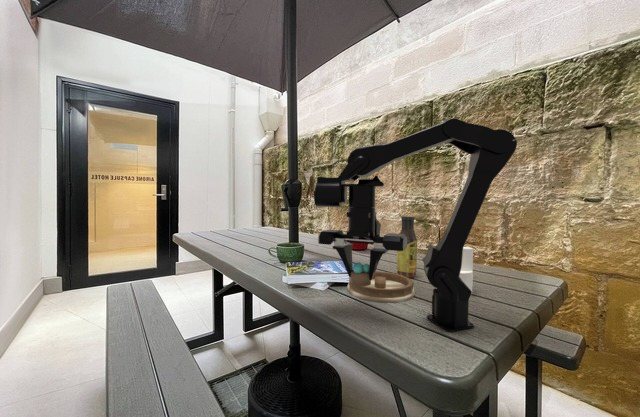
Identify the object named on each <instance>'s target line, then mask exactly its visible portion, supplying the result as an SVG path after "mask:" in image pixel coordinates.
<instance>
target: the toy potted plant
mask: <svg viewBox="0 0 640 417" xmlns="http://www.w3.org/2000/svg"><path fill="white" fill-rule="evenodd" d="M369 268H370V263H369V264H368V263H363V264H362V262H359V261H358V262H355V263H354V265H353V270H352V271H351V284H353V285H356V286H368V285H370V284H371V280H370V277H369Z"/></svg>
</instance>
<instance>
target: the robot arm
mask: <svg viewBox="0 0 640 417" xmlns="http://www.w3.org/2000/svg"><path fill="white" fill-rule="evenodd" d="M446 143H447V144H449V145H452V146H453V147H455V148H457V149H458V150H460V151H462V152H464V153H466V154H469V155H470V158H469V162H468V163H469V164H468V174H467V179H466V181H465V183H464V184H463V188H462V191H461V193H460V195H459V196H458V197H459V198H458V199H457V202H456V203H455V204H456V205H455V207H454V209H453V211H452V213H451V216H450V218H449V221H448V224H447V226H446V228H445V231H444V232H443V235H442V237H441V239H440V241H439V242H438V243H437V244H436V245H433V244H431V243H429V244H428V247H427V251H426V254H425V255H424V257H423V258H422V259H421V260H422V262H423V271H424V273H425V276H426V278H427V280H428V282H429V284H431V285H432V287H434V288H433V289H432V290H433V292H432V295H431V314H430V315H429V314H428V315H426V319H427V320H429V321H430V322H432V323H434V324H435V325H437V326H439V327H440V328H442V329H444V330H445V331H447V332H449V333H450V332H456V331H462V330H467V329H471V328H475V324H474V323H472V322H470V321H469V305H470V304H469V303H470V302H469V300H470V298H471V295H472V294H473V290H472V291H471V290H470V289H469V288H468V286H467V285H466V284H465V283H464V282H463V281H462V279H461V278H460V277H459V275H460V271H461V266H462V254H463V247H465V245H466V242H467V240H468V238H469V236H470V233H471V231H472V228H473V227H474V226H473V225H474V223H475V221H476V219H477V217H478V215H479V212H480V210H481V208H482V205H483V203H484V201H485V198H486V196H487V194H488V192H489V189H490V188H491V184H492V182H493V181H494V180H495V178H496V177H497V176H498V175H499V173H501V171H502V170H503V169H504V168H505V167H506V165H508V162H509V161H510V159H511V158H512V157H513V155H514V153H515V152H516V150H517V146H518V141H517V139H516V137H515V135H514V134H513V133H512V132H510V131H509V130H506V129H502V128H498V129H493V128H491V127H488V126H485V125H481V124H475V123H470V122H467V121H464V120H461V119H458V118H453V117H452V118H448V119H446V120H445V121H443V122H441V123H438V124H435V125H433V126H430V127H428V128H425V129H423V130H420V131H417V132H415V133H412V134H409V135H408V136H404V137H402V138H398V139H396V140H393V141H391V142H388V143H387V142H386V143H384V144H383V143H382V144H372V145H367V146H362V147H357V148H355V149H354V150H352V151H351V152H350V153H349V155H348V158H347V164H346V165H345V167H344V168H343V170H342V171H341V172H340V174H339V175H338V177H326V176H325V177H324V176H317V177H316V181H317V182H316V184H315V187H314V190H313V199H314V205H315V206H316V207H317V208H319V207H320V208H324V207H325V208H342V206H343V203H347V201H348V211H347V212H346V218H348V231H346V233H344V232H343V230H341V229H325V230H321V231H320V232H319V233H318V237H317V238H318V239H317V240H318V241H317V242H318V244H319V245H329V246H330V245H332V244H333V245H332V250H336V252H337V254H338V255H339V257H340V259H341V260H342V263H343V266H344V268H345V271H346V273H347V275H348V278H349V277H351V271H352V270H353V268H354V265H353V247H354V244H364V245H365V244H366V245H373V248H371V249H370V250H369V251H370V252H369V265H370V268H369V277H370V280H372V279H373V277H374V274H375V272H377V269H378V265H379V262H380V261H381V258H382V257H383V255H385V254H386V253H388V252H389V251H396V252H397V251H403V250H404V249H405V248H406V247H407V237H406V236H405V234H399V233H394V232H393V233H389V232H388V233H387V234H385V235H383V236H382V235H381V226H382V224H381V222H379V220H378V219H377V211H376V188H383V187H384V186H385V184H384V182H383V181H381V179H380V178H379V176H378V175H375V176H374V177H373V178H371V179H370V178H369V177H370V176H372V175H374V174H376V173H378V172H379V171H381V170H382V169H384V168H386V167H387V166H389V165H391V164H392V163H394V162H396V161H399V160H401V159H405V158H407V157H411V156H413V155H416V154H418V153H422V152H424V151H427V150H430V149H433V148H435V147H438V146H441V145H444V144H446ZM361 178H362V179H361ZM368 178H369V179H368ZM357 180H358V182H357V183H354V182H355V181H357ZM471 293H472V294H471Z"/></svg>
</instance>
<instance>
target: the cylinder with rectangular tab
mask: <svg viewBox="0 0 640 417" xmlns="http://www.w3.org/2000/svg"><path fill="white" fill-rule="evenodd" d="M473 275H474V248H473V247H469V246H464V247H463V254H462V266H461V271H460V275H459V277H460V278H461V279H462V281H463V282H464V283H465V284H466V285H467V286H468V288H469V289H470V290H471V291H472V293H471V295H473V283H474V282H473V278H474V277H473Z"/></svg>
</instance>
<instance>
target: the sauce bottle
mask: <svg viewBox="0 0 640 417" xmlns="http://www.w3.org/2000/svg"><path fill="white" fill-rule="evenodd" d="M414 221H415V216H413V215H401V230H400V232H399V233H398V234H405V236H406V237H407V247H406V248H405V249H404V250H403V251H396V274H399V275H403V276H405V277H407V278H409V279H412V278H416V276H417V265H418V239H417V235H416V233H415V229H414Z"/></svg>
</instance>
